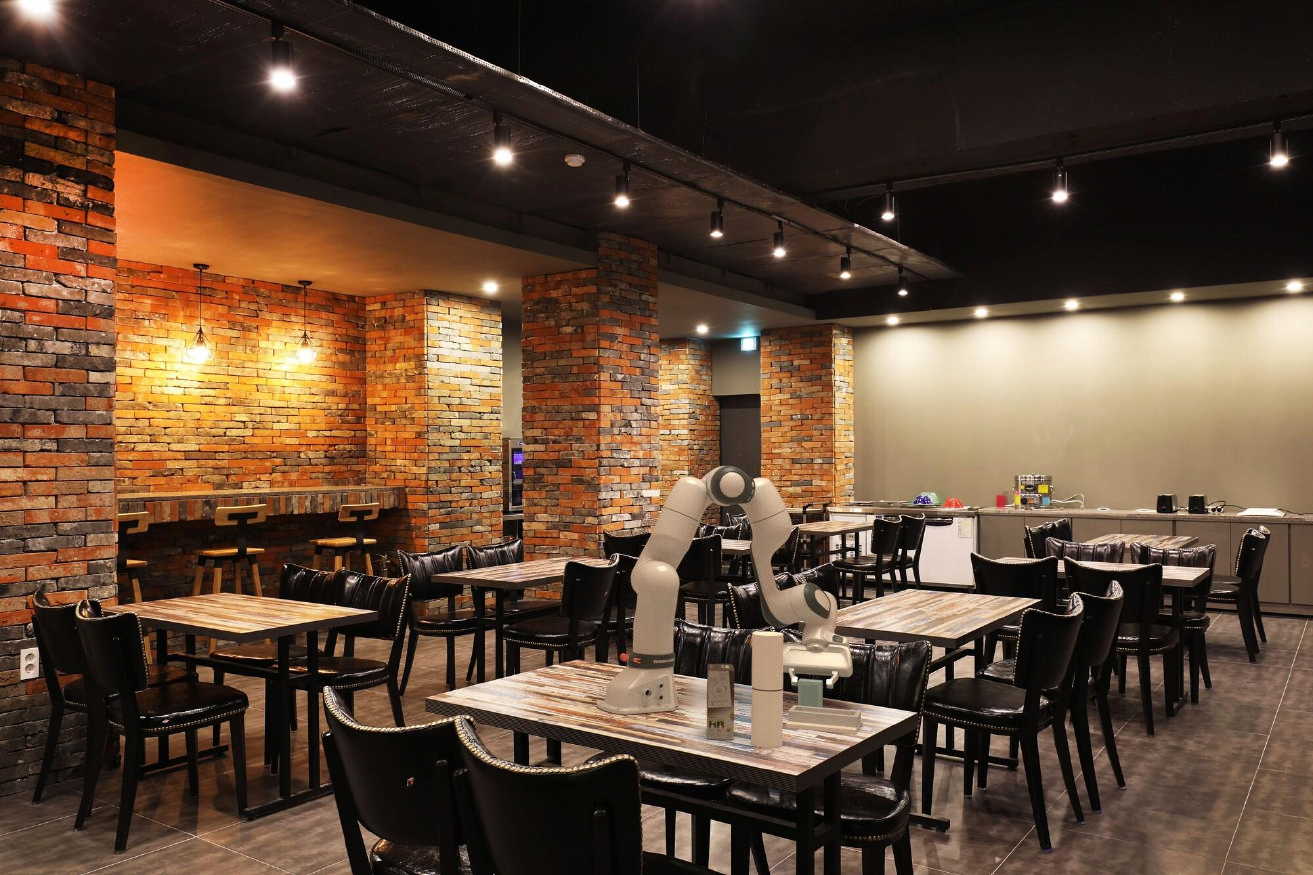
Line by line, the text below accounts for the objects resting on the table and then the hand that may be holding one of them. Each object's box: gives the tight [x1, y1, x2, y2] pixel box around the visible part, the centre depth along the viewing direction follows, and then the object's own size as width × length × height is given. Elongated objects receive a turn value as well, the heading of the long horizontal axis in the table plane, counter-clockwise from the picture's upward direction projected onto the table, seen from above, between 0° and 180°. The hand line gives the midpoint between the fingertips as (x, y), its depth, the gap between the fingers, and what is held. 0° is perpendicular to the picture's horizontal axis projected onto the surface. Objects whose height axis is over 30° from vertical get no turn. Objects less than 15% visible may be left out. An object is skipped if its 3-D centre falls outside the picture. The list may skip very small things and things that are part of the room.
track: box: [785, 704, 863, 735], centre depth 236 cm, size 13×17×4 cm
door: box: [797, 678, 824, 708], centre depth 250 cm, size 3×6×8 cm, turn 71°
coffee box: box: [706, 663, 735, 741], centre depth 225 cm, size 9×6×16 cm
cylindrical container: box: [750, 631, 784, 749], centre depth 217 cm, size 7×7×25 cm
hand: (811, 685), depth 252 cm, fingers open, 8 cm apart
